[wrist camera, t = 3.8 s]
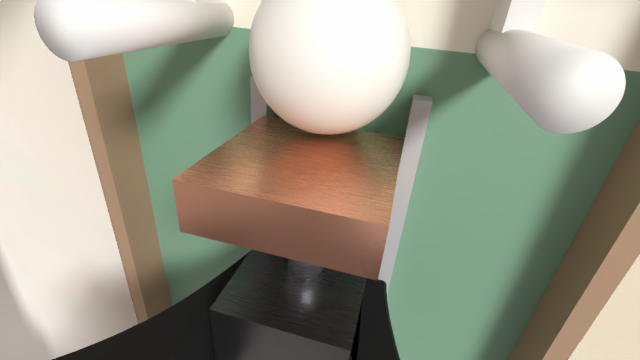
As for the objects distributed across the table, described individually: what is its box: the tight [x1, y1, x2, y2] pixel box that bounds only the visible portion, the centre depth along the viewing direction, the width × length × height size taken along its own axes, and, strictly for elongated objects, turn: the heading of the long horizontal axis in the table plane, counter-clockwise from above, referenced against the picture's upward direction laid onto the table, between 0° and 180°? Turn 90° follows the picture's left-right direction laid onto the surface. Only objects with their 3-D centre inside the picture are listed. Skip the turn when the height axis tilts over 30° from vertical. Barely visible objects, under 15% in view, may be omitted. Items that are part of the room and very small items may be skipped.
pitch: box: [34, 0, 640, 360], centre depth 10 cm, size 19×16×6 cm
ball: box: [249, 0, 411, 135], centre depth 8 cm, size 4×4×4 cm
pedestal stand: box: [172, 115, 403, 360], centre depth 10 cm, size 9×4×5 cm, turn 175°
